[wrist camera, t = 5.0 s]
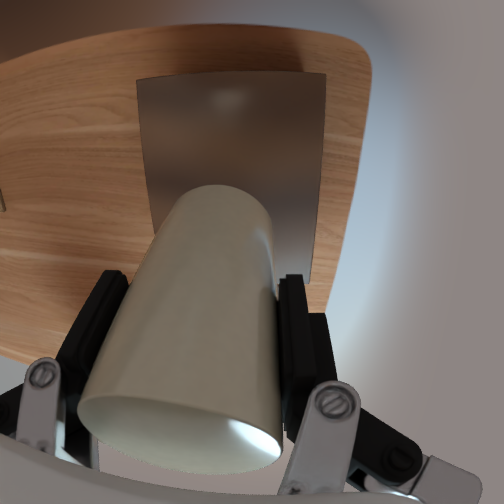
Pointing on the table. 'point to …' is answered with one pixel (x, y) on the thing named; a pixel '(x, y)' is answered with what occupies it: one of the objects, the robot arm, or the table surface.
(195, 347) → the cream mug
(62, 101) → the table surface
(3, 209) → the mat
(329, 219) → the table surface
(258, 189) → the brown lidded box
